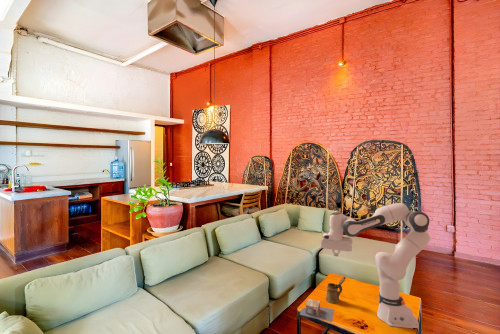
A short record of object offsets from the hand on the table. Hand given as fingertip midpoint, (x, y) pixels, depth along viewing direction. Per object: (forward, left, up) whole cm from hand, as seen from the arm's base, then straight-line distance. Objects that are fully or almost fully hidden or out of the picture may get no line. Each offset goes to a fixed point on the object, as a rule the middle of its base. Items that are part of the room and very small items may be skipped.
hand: (336, 256), depth 175 cm
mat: (+11, +14, -34) cm, 38 cm away
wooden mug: (+1, -5, -34) cm, 35 cm away
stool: (+10, +14, -31) cm, 35 cm away
